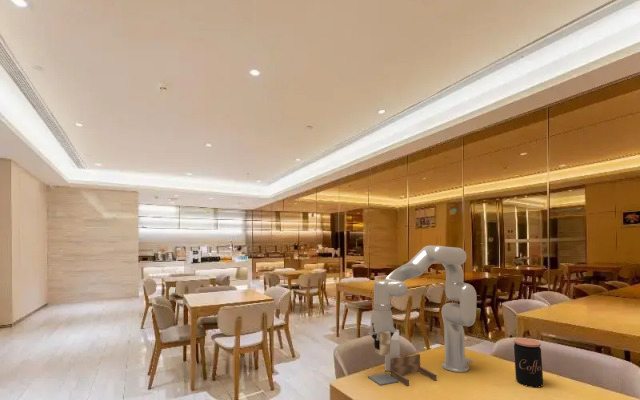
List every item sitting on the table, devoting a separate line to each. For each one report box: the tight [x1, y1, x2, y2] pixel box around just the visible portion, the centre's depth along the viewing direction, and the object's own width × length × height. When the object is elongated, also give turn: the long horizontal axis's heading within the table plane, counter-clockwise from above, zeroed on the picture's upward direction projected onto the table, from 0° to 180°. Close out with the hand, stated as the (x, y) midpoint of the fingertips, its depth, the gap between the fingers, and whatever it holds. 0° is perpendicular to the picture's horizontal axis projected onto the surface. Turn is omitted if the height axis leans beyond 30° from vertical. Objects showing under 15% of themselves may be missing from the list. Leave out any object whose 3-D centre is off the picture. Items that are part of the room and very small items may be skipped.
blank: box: [374, 331, 390, 356], centre depth 161 cm, size 5×5×10 cm
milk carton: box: [384, 328, 401, 372], centre depth 174 cm, size 7×7×19 cm
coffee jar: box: [513, 337, 544, 388], centre depth 157 cm, size 11×11×18 cm
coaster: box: [367, 372, 400, 386], centre depth 159 cm, size 10×10×1 cm
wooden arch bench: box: [390, 353, 438, 387], centre depth 161 cm, size 16×13×8 cm
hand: (382, 347), depth 160 cm, fingers closed on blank, 5 cm apart
